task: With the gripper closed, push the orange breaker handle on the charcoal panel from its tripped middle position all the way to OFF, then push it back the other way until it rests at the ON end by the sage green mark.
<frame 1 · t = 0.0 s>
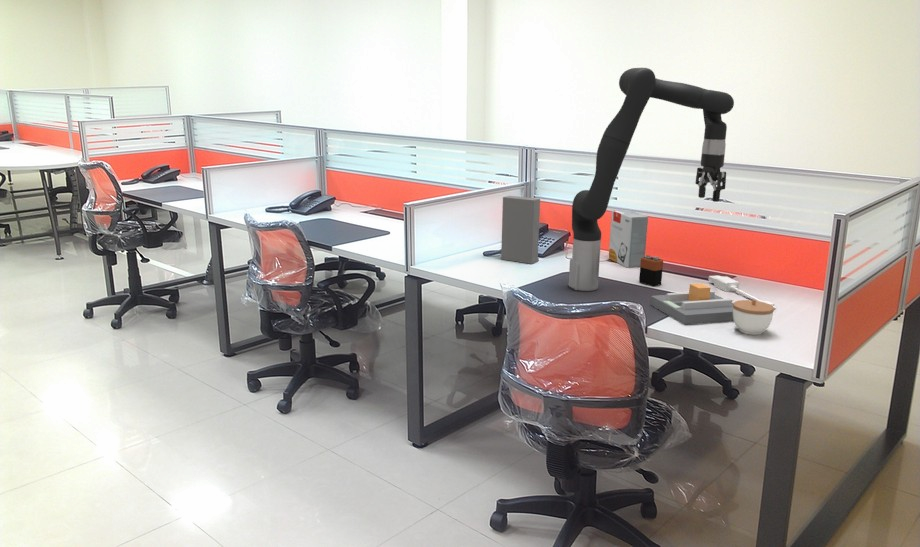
hand: (708, 199, 248), 29 cm above the table, fingers open, 8 cm apart
charging cable: (740, 296, 238), on the table
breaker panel: (697, 312, 219), on the table
battery: (649, 284, 250), on the table
hard drive box: (625, 263, 280), on the table
breaker handle: (699, 293, 217), point 6 cm above the table, slide at 5.0 cm
lidded jar: (750, 332, 202), on the table
tall grey upright block: (519, 261, 281), on the table
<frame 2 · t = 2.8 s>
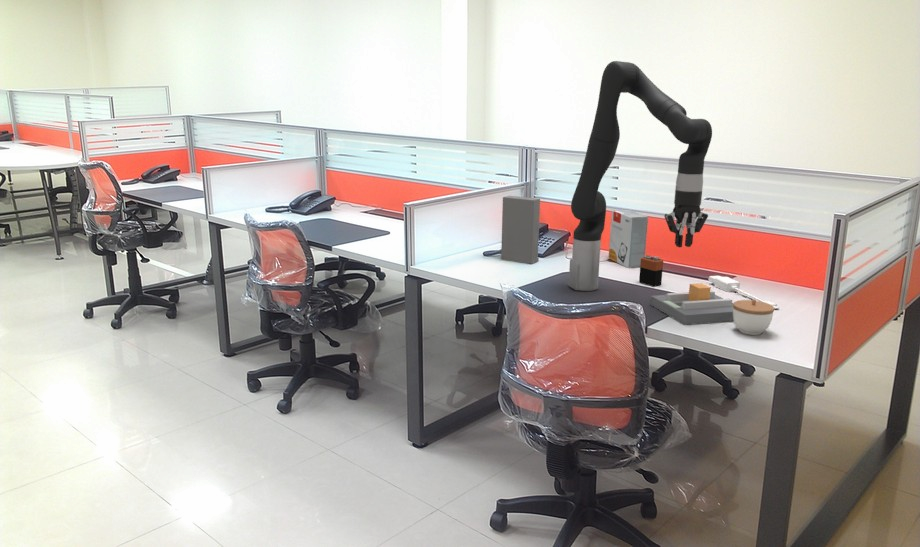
hand: (683, 246, 212), 21 cm above the table, fingers closed
nothing on the table moved.
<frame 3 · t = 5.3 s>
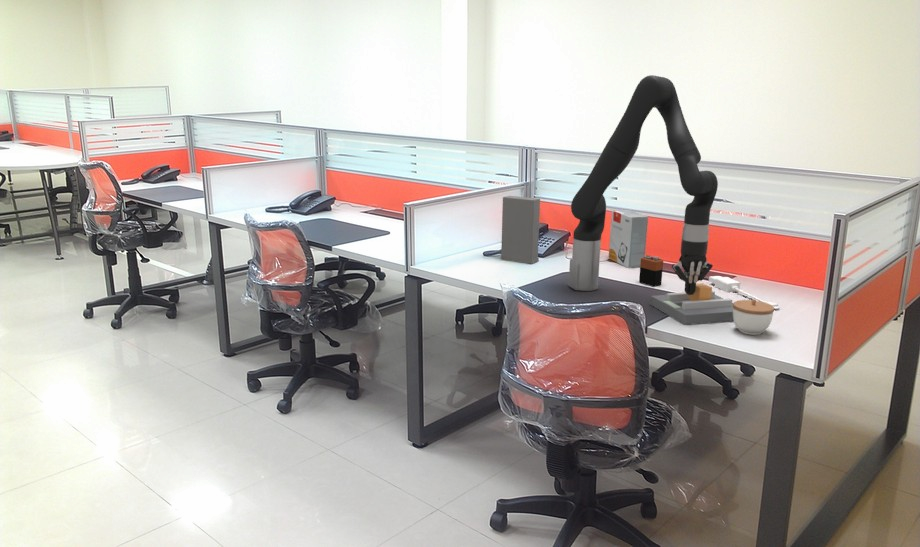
hand: (689, 294, 216), 6 cm above the table, fingers closed
breaker handle: (700, 293, 217), point 6 cm above the table, slide at 5.5 cm, touching gripper
everything else where it was.
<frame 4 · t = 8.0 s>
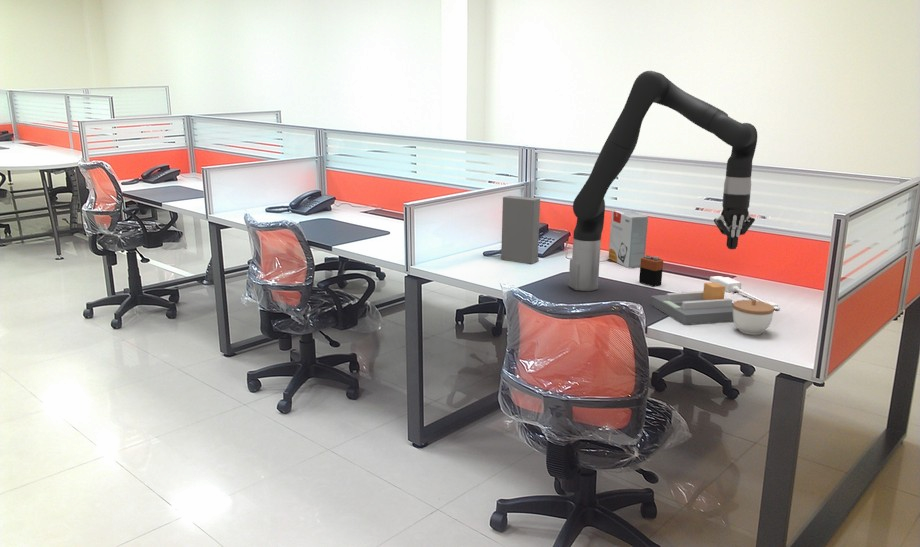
hand: (731, 248, 215), 20 cm above the table, fingers closed
breaker handle: (713, 292, 218), point 6 cm above the table, slide at 10.0 cm
everything else where it was.
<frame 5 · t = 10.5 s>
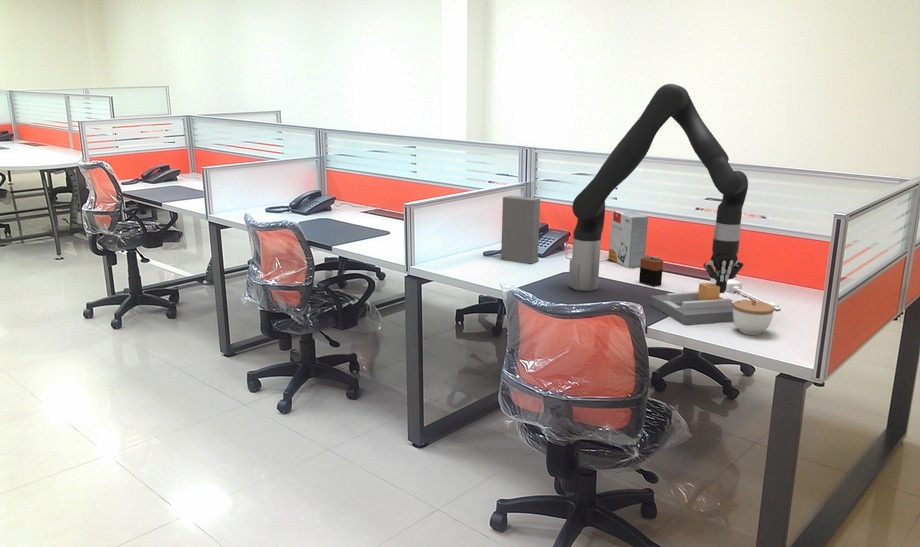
hand: (720, 292, 219), 6 cm above the table, fingers closed
breaker handle: (708, 292, 218), point 6 cm above the table, slide at 8.3 cm, touching gripper
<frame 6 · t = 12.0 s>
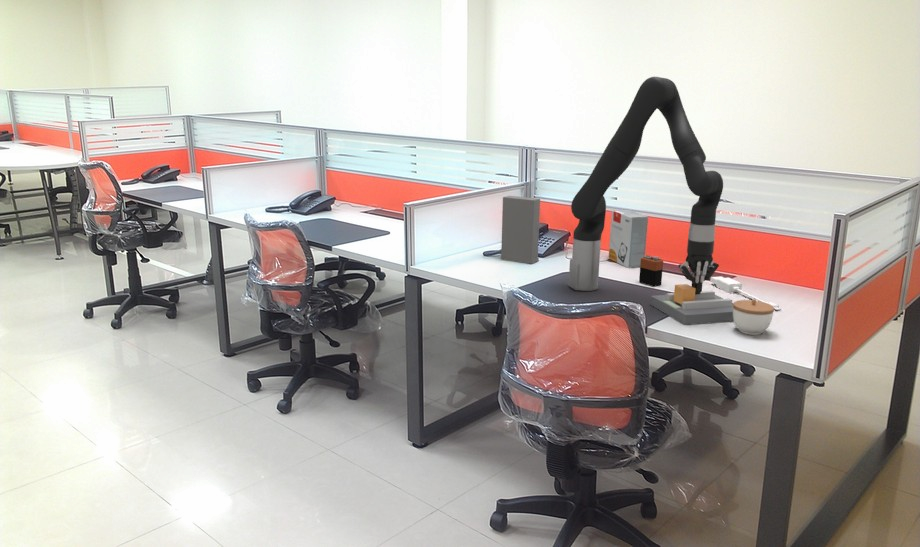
hand: (696, 293, 217), 6 cm above the table, fingers closed
breaker handle: (684, 294, 216), point 6 cm above the table, slide at -0.1 cm, touching gripper
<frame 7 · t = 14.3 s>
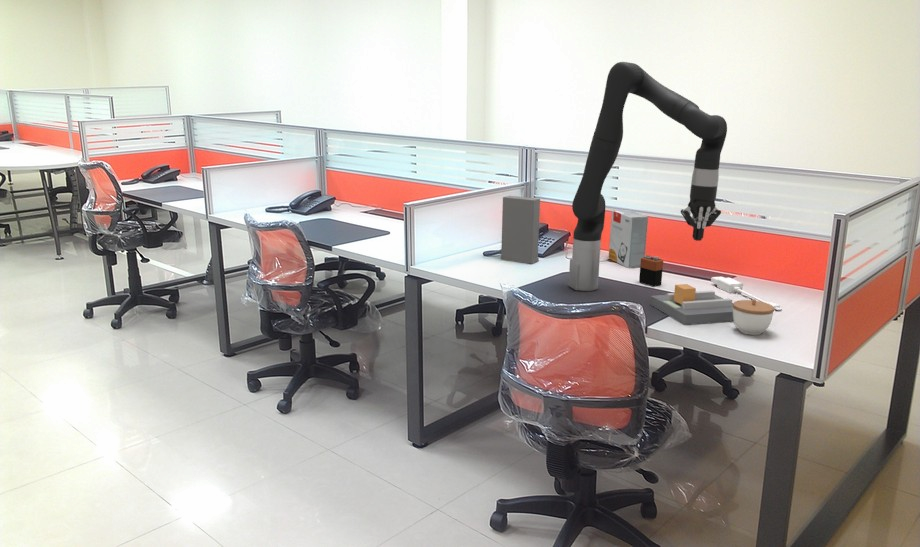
hand: (697, 240, 217), 22 cm above the table, fingers closed
breaker handle: (684, 294, 216), point 6 cm above the table, slide at 0.0 cm
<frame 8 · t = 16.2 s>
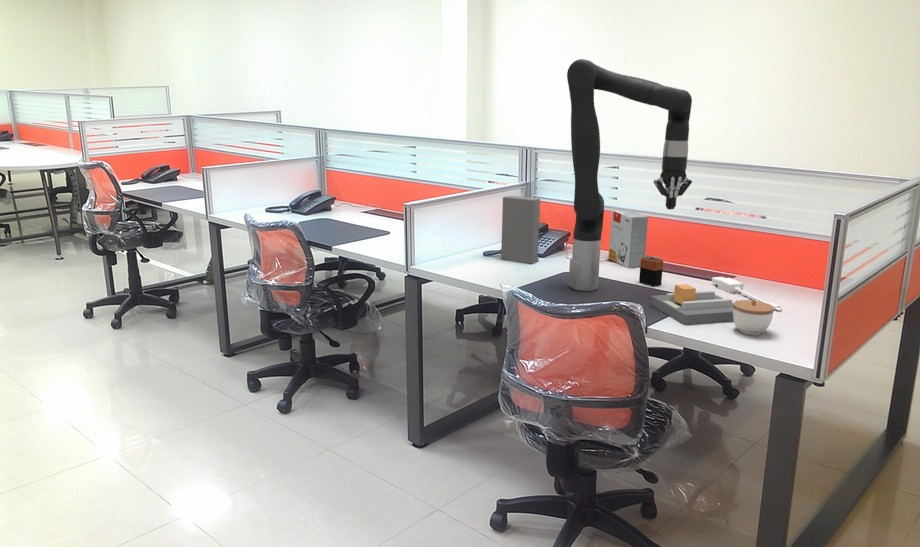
hand: (670, 209, 229), 29 cm above the table, fingers closed
at the end: breaker handle slide at 0.0 cm; lidded jar moved 0.2 cm from its start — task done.
